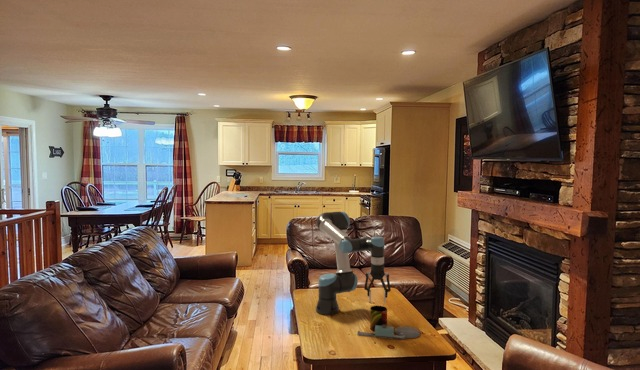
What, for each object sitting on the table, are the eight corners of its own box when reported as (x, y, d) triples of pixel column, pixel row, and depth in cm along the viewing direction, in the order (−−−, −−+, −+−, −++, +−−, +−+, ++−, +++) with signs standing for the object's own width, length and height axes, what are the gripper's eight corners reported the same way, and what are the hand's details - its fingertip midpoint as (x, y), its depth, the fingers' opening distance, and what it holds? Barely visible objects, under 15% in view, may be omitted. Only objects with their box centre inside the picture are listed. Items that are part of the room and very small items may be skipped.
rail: (358, 333, 213) (358, 330, 213) (405, 338, 207) (405, 335, 207) (357, 335, 210) (357, 332, 210) (405, 339, 205) (405, 337, 205)
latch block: (375, 332, 211) (375, 323, 211) (393, 333, 209) (393, 324, 209) (374, 335, 207) (374, 326, 207) (393, 337, 205) (393, 327, 205)
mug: (381, 322, 229) (381, 302, 228) (389, 331, 215) (389, 311, 214) (366, 323, 227) (366, 303, 226) (373, 333, 213) (373, 312, 213)
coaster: (394, 326, 222) (394, 325, 222) (419, 329, 219) (419, 327, 219) (394, 337, 208) (394, 335, 208) (420, 339, 205) (420, 338, 205)
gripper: (359, 264, 217) (358, 303, 218) (395, 266, 213) (395, 306, 213) (360, 261, 225) (360, 298, 225) (395, 263, 220) (395, 301, 221)
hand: (377, 302), depth 219 cm, fingers open, 8 cm apart
